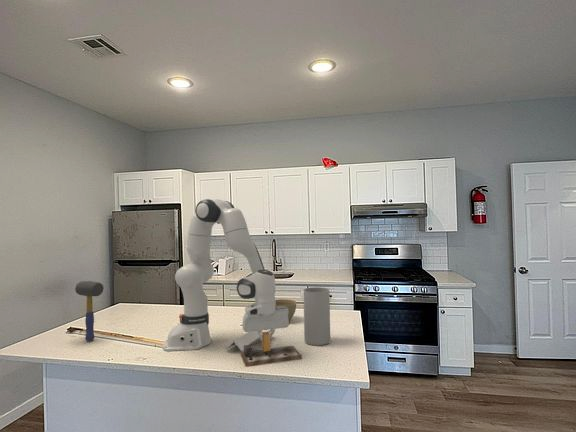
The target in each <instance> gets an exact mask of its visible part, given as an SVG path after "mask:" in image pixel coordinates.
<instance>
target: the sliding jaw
mask: <svg viewBox="0 0 576 432" xmlns="http://www.w3.org/2000/svg"><path fill="white" fill-rule="evenodd" d="M262 335H263V336H264V340H261V341H262V342H261V350H262V349H263V351H266V353H267V354H268V356H269V357H271V354H270V353H269V351H271V348H272V346H271V339H270V333H268V331H263V332H262Z"/></svg>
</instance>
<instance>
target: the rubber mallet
mask: <svg viewBox="0 0 576 432" xmlns="http://www.w3.org/2000/svg"><path fill="white" fill-rule="evenodd" d="M74 290H75V293H76V294H77V295H80V296H83V297H86V313H85V321H84V323H85V329H86V331H85V341H86V342H87V343H89V342H90V343H91V342H92V341H94V339H95V332H94V326H95V325H94V324H95V315H94V311H93V297H99V296H100V295H102V294H103V292H104V285H103V283H102V282H98V281H92V280H88V281H87V280H86V281H85V280H82V281H79V282H78V283H77V284H76V285H75V289H74Z"/></svg>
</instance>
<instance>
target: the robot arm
mask: <svg viewBox="0 0 576 432" xmlns="http://www.w3.org/2000/svg"><path fill="white" fill-rule="evenodd" d="M194 211H195V213H194V214H192V216H191V219H190V222H189V226H188V232H187V240H186V241H187V242H186V251H187V253H188V255H189V263H188V264H184V265H183V266H181V267H180V268H178V270H177V271H176V272H175V274H174V280H175V282H176V284H177V286H179V287H180V289H181V293H182V296H183V305H184V306H183V311H184V313H180V314H178V315H179V316H178V318H179V323H178V324H177V325H175V326H174V327H173V328H172V329H171V330H170V331H169V333H168V336H167V340H165V341H164V342H163V343H164V344H163V343H162V349H163V350H164V351H165V352H172V351H173V352H174V351H192V350H193V351H194V350H200V349H202V348H203V347H206V346H208V345H209V344H211V343H212V337H211V334H210V327H209V324H210V314H209V311H208V310H209V309H208V308H209V307H208V306H209V304H208V296H207V294H206V293H205V290H204V287H203V284H204V283H207V282H208V281H209V280H210V279H211V278H212V277H213V276H214V273H215V269H214V268H215V267H214V266H213V265H212V261H211V243H212V242H211V241H212V234H213V233H212V232H213V231H212V230H213V226H214V225H216V224H217V225H218V224H220V225H221V226H222V229H223V235H224V239H225V243H226V245H227V247H228V248H230V249H231V250H232V251H233V252H236V253H239V254H241V255H243V256H244V257H245V258H246V260H247V261H248V265H249V267H250V270H251V273H252V274H251V275H248V276H246V277H245V276H244V277H241V278H240V279H239V280H238V281H237V283H236V292H237V294H238V296H239V297H240V298H242V299H244V300H249V299H255V303H252V304H250V305H248V306H245V308H244V311H245V313H244V314H243V317H242V330H243V331H244V332H245V333H248V332H251V331H257V332H258V334H259V336H260V341H262V340H264V336H263V335H261V334H260V333H261V330H262V331H267V330H268V331H269V330H271V332H270V333H269V334H270V340H273V336H274V333H275V331H276V329H287V328H288V327H289V325H290V322H289V320H288V313H289V310H288V308H287V307H285V306H281V307H276V300H277V299H276V296H275V295H276V278H275V275H274V272H272V271H270V270H268V269H265V266H264V264H263V260H262V258H261V256H260V253H259V250H258V248H257V246H256V244H255V242H254V241H253V239H252V238H251V235H250V233H249V232H250V231H249V229H248V228H249V227H248V225H247V222H246V218H245V216H244V214H243V212H242V210H240V209H239V208H235V205H234V204H233V203H231V202H230V201H227V200H222V199H210V198H207V199H201V200H200V201H199V202H198V203H197V204H196V206H195V209H194ZM260 341H259V342H260Z"/></svg>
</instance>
